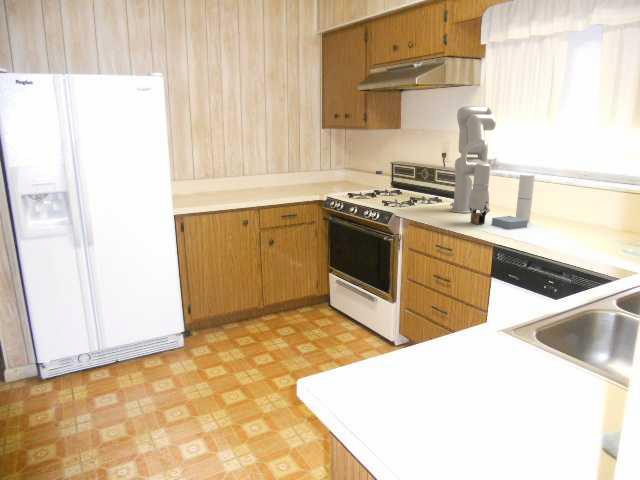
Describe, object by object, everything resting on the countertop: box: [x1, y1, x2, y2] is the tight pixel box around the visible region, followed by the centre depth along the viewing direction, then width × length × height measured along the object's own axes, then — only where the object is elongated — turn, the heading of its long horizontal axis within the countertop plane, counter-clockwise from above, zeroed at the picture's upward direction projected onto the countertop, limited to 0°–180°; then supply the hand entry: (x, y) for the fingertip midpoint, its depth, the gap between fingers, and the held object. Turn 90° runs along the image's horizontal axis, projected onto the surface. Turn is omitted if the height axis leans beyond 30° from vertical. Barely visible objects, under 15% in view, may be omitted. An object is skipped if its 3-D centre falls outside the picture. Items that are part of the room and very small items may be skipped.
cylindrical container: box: [515, 173, 536, 223], centre depth 263 cm, size 7×7×25 cm
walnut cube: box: [470, 212, 486, 226], centre depth 259 cm, size 5×5×5 cm
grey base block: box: [491, 215, 529, 230], centre depth 255 cm, size 12×12×4 cm
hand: (477, 221), depth 260 cm, fingers closed on walnut cube, 5 cm apart
